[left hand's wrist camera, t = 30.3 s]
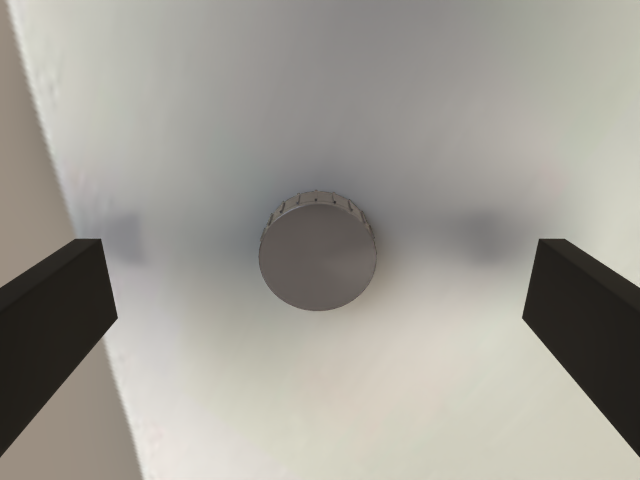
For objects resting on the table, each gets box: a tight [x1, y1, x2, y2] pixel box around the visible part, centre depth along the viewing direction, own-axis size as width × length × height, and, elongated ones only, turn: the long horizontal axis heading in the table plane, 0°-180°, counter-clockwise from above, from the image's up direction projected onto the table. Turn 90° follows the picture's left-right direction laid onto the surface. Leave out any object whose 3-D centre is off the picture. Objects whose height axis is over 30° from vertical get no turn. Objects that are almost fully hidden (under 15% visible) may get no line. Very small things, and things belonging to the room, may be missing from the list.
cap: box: [259, 190, 377, 311], centre depth 15 cm, size 4×4×2 cm
